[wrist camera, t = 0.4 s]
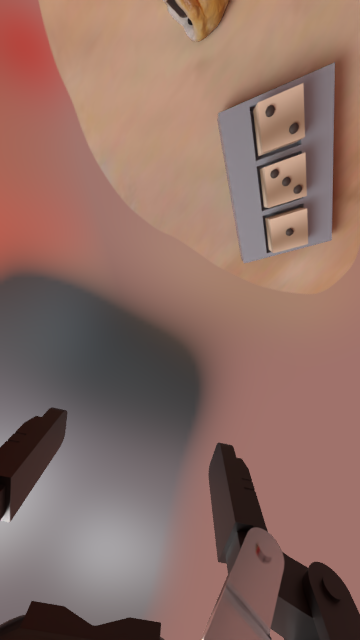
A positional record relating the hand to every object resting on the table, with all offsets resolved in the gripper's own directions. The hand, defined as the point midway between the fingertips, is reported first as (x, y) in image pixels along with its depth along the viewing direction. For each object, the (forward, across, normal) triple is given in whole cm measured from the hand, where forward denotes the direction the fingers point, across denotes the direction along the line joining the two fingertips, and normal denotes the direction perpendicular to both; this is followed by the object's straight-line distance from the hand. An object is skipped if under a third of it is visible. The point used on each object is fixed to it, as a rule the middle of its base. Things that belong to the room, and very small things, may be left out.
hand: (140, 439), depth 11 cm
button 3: (+23, -10, -21) cm, 33 cm away
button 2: (+21, -7, -26) cm, 35 cm away
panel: (+25, -10, -22) cm, 34 cm away
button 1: (+24, -13, -16) cm, 32 cm away
